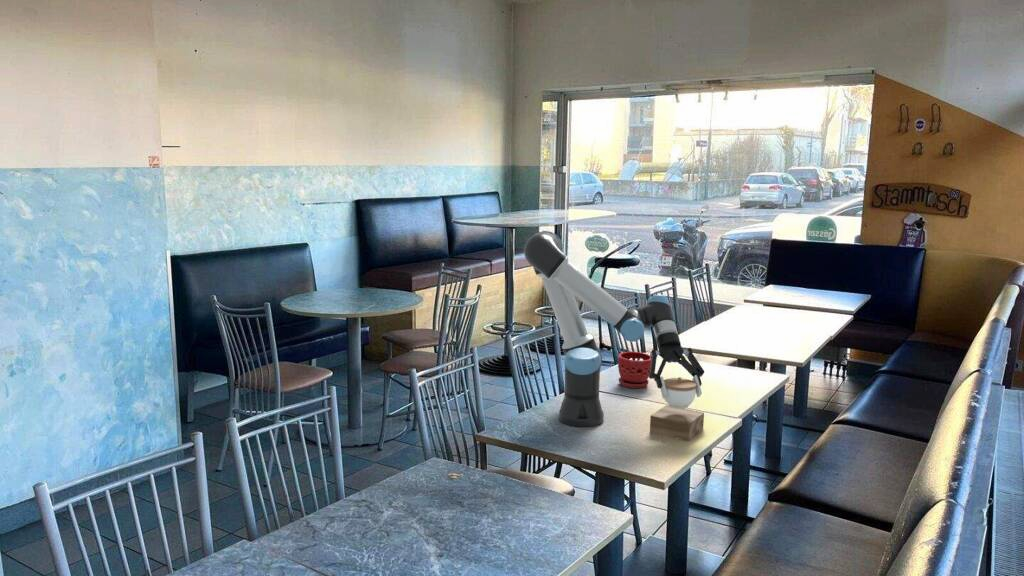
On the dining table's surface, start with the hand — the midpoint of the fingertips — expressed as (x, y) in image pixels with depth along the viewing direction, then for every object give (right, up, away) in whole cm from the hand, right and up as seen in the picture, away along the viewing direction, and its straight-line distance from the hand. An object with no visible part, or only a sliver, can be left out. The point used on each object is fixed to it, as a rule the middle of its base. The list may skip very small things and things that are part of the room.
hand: (682, 396), depth 232 cm
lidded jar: (0, -4, +4) cm, 5 cm away
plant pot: (-6, -4, +54) cm, 54 cm away
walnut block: (-1, -12, +5) cm, 13 cm away
